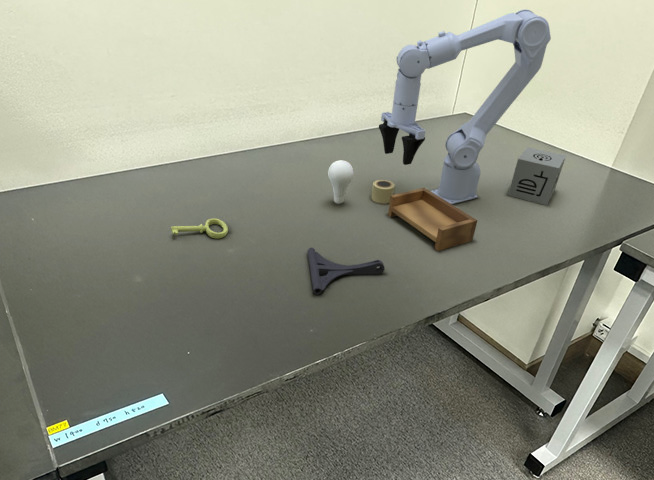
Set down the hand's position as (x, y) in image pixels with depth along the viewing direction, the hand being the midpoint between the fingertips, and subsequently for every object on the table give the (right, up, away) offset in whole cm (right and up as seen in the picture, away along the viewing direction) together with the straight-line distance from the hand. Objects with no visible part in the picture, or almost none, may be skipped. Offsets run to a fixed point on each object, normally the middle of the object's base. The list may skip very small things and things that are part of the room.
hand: (397, 158), depth 132 cm
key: (-45, -21, -15) cm, 52 cm away
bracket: (-14, -30, -25) cm, 42 cm away
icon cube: (+37, -7, +10) cm, 39 cm away
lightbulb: (-15, -12, 0) cm, 19 cm away
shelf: (+5, -19, -9) cm, 21 cm away
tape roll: (-4, -10, +3) cm, 11 cm away
